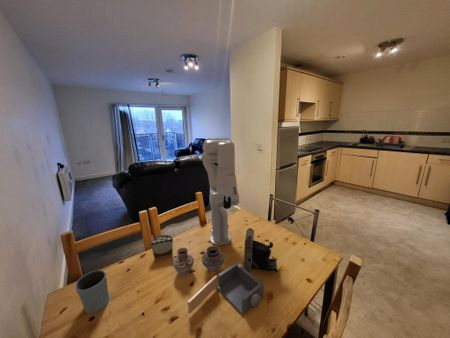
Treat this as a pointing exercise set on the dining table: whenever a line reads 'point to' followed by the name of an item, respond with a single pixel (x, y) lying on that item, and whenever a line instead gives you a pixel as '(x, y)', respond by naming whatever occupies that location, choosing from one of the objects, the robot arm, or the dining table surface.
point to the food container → (162, 246)
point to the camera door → (202, 294)
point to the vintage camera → (257, 254)
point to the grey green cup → (93, 291)
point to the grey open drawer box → (240, 288)
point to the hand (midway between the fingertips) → (227, 207)
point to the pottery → (210, 260)
